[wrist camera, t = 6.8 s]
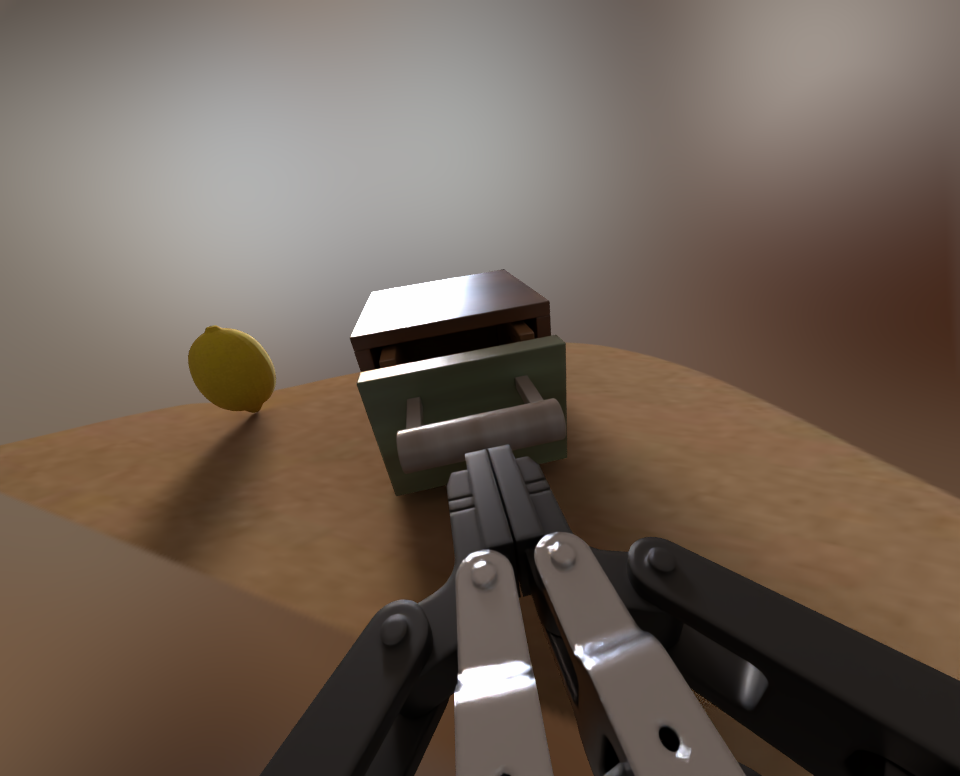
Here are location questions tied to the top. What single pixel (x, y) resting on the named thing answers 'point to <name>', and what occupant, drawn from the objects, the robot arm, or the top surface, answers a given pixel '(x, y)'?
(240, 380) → the lemon
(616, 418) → the top surface
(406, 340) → the cabinet
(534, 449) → the drawer
